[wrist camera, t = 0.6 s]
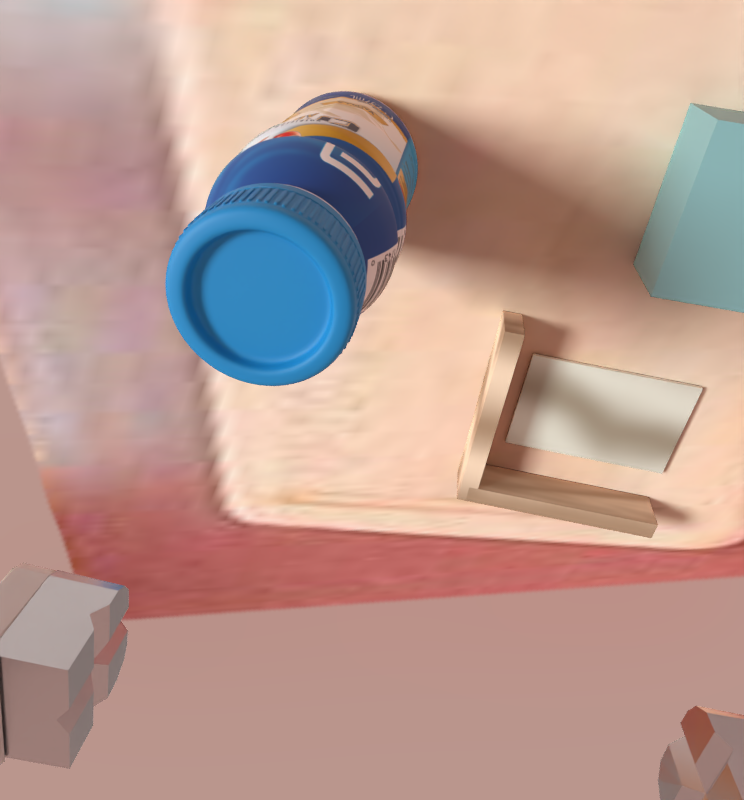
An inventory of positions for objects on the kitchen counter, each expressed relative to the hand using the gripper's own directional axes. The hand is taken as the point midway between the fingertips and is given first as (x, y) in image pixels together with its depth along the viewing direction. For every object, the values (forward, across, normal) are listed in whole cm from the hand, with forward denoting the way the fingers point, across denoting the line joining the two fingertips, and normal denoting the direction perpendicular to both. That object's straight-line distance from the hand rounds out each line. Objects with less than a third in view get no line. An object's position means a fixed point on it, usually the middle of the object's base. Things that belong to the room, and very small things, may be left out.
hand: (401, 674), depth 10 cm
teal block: (+34, -14, -4) cm, 38 cm away
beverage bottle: (+35, +5, -2) cm, 35 cm away
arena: (+36, -13, +11) cm, 40 cm away
